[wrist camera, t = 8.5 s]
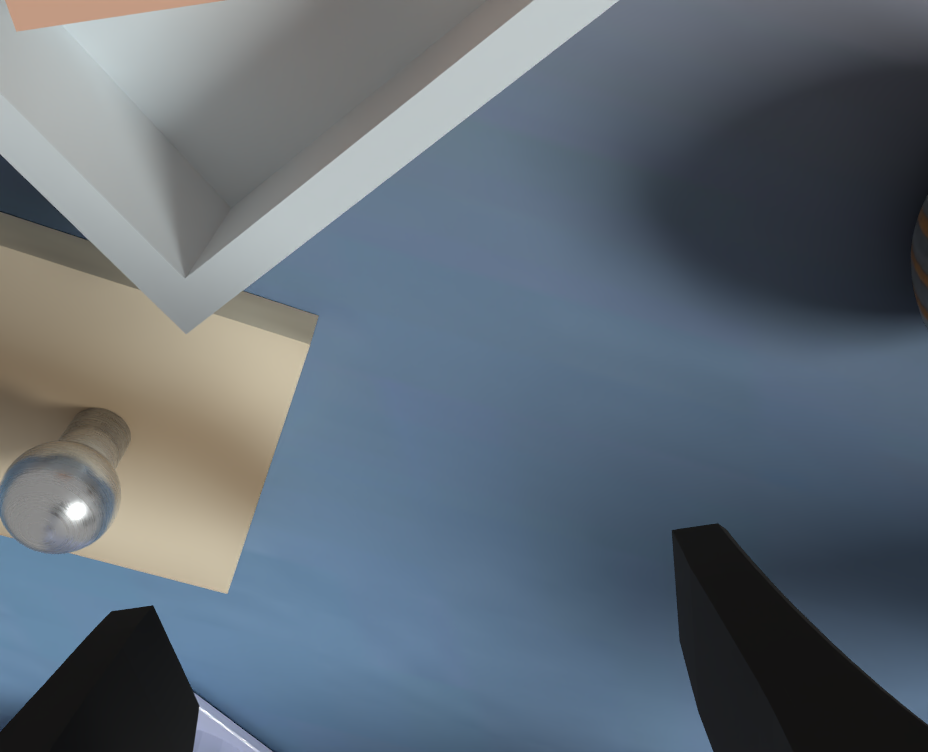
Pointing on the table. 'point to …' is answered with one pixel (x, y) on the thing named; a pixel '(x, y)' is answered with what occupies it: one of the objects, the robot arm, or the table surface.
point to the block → (83, 10)
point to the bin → (248, 120)
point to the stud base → (134, 412)
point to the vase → (921, 262)
